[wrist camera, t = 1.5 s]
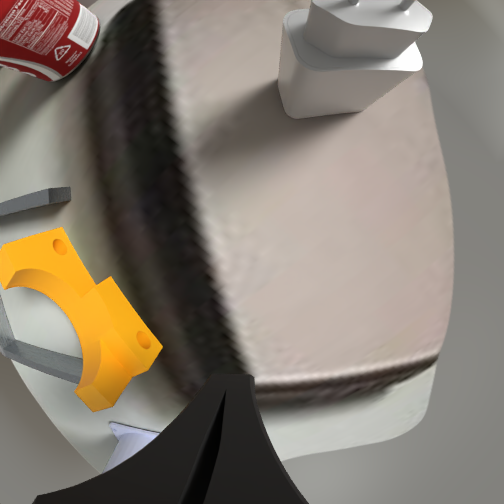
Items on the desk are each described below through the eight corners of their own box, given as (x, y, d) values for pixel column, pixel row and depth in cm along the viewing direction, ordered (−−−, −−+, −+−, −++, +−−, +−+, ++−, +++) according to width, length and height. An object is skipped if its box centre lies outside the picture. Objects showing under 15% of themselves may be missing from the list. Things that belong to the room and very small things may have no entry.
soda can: (116, 11, 12) (34, -58, 1) (87, 79, 14) (-30, 33, 2) (62, 26, 12) (-18, -16, 1) (36, 87, 14) (-62, 65, 2)
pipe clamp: (163, 345, 19) (129, 401, 13) (128, 362, 20) (93, 412, 13) (75, 213, 17) (12, 228, 10) (48, 244, 18) (-8, 265, 11)
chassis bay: (109, 372, 20) (96, 389, 17) (13, 345, 21) (1, 354, 18) (70, 186, 16) (48, 188, 14) (-19, 212, 17) (-34, 215, 15)
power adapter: (274, 76, 14) (282, -77, 2) (356, 68, 13) (450, -44, 2) (287, 120, 15) (326, -14, 3) (369, 111, 14) (501, 29, 2)
